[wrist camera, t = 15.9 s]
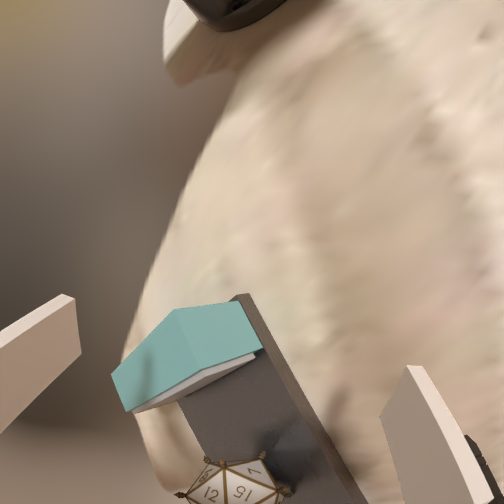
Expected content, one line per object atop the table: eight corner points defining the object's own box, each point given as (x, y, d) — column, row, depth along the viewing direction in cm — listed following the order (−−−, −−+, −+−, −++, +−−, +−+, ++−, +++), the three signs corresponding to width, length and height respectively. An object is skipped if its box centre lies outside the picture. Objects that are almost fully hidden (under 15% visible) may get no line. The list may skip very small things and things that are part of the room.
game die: (298, 471, 22) (252, 550, 15) (219, 437, 24) (168, 513, 17) (328, 462, 16) (265, 574, 9) (218, 416, 18) (146, 522, 11)
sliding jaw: (238, 300, 22) (173, 309, 17) (265, 352, 20) (203, 376, 15) (159, 363, 29) (110, 374, 24) (176, 400, 27) (128, 416, 22)
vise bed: (248, 293, 23) (172, 302, 17) (391, 540, 13) (355, 597, 7) (169, 356, 30) (110, 369, 24) (281, 545, 19) (238, 580, 14)
